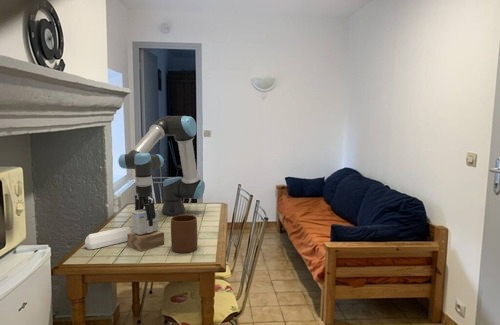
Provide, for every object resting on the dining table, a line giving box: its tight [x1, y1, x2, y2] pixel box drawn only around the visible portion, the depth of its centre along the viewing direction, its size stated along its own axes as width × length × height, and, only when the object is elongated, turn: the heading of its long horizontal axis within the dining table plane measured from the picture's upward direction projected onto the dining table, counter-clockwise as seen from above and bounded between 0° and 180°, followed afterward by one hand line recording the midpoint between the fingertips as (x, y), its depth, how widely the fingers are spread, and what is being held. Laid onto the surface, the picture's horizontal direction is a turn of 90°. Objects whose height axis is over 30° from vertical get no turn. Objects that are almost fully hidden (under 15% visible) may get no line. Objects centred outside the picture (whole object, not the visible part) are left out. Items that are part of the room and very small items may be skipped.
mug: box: [170, 212, 198, 254], centre depth 187 cm, size 20×12×15 cm, turn 3°
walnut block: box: [127, 229, 165, 252], centre depth 189 cm, size 12×13×6 cm
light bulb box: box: [131, 208, 159, 235], centre depth 188 cm, size 11×7×11 cm, turn 135°
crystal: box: [84, 225, 133, 250], centre depth 192 cm, size 7×7×24 cm
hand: (145, 230), depth 188 cm, fingers closed on light bulb box, 7 cm apart
